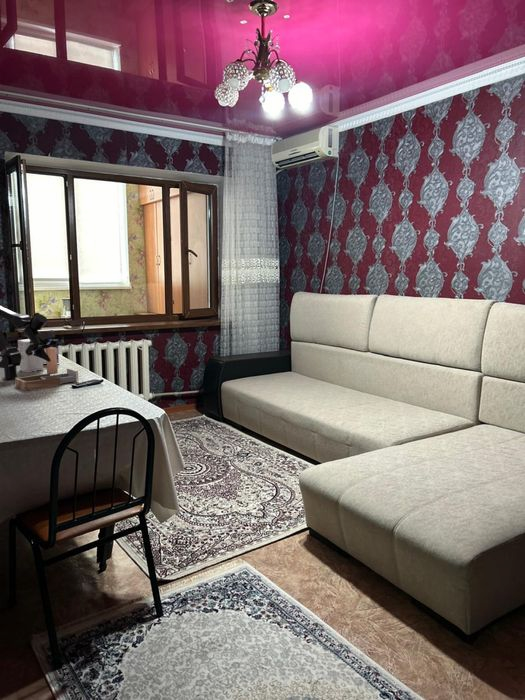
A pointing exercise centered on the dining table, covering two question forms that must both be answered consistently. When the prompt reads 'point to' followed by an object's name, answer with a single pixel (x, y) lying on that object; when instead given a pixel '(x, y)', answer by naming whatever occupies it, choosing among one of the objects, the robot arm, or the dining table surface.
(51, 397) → the dining table surface
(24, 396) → the dining table surface
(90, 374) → the dining table surface
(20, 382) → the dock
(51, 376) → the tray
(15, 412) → the dining table surface
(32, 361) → the supplement box
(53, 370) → the canister
